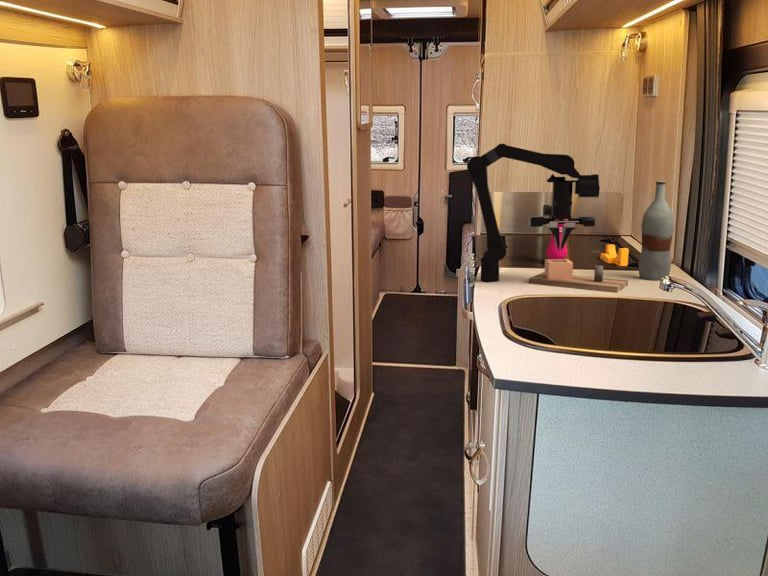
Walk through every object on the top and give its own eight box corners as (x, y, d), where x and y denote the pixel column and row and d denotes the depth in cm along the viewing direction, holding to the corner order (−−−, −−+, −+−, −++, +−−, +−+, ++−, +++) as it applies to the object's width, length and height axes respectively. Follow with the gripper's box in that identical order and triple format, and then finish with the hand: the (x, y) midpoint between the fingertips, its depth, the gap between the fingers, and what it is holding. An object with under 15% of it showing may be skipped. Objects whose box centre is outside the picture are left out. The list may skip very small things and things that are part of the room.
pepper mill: (552, 267, 216) (555, 209, 212) (541, 264, 223) (544, 208, 219) (570, 266, 218) (573, 209, 214) (559, 263, 225) (562, 207, 221)
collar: (572, 279, 186) (573, 263, 185) (548, 279, 187) (549, 262, 186) (567, 275, 193) (568, 259, 192) (544, 275, 193) (545, 259, 192)
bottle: (636, 279, 193) (643, 181, 187) (638, 274, 201) (644, 180, 195) (670, 281, 189) (678, 181, 183) (670, 276, 197) (677, 180, 191)
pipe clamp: (600, 262, 227) (601, 244, 226) (611, 261, 228) (612, 244, 227) (615, 267, 216) (616, 249, 214) (627, 267, 216) (628, 248, 215)
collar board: (617, 292, 175) (618, 271, 173) (528, 283, 189) (529, 263, 188) (627, 285, 184) (629, 265, 183) (543, 276, 199) (543, 258, 198)
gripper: (587, 196, 192) (584, 246, 195) (526, 196, 193) (524, 246, 197) (596, 198, 181) (593, 251, 184) (531, 198, 183) (529, 251, 186)
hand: (559, 249), depth 188 cm, fingers closed
